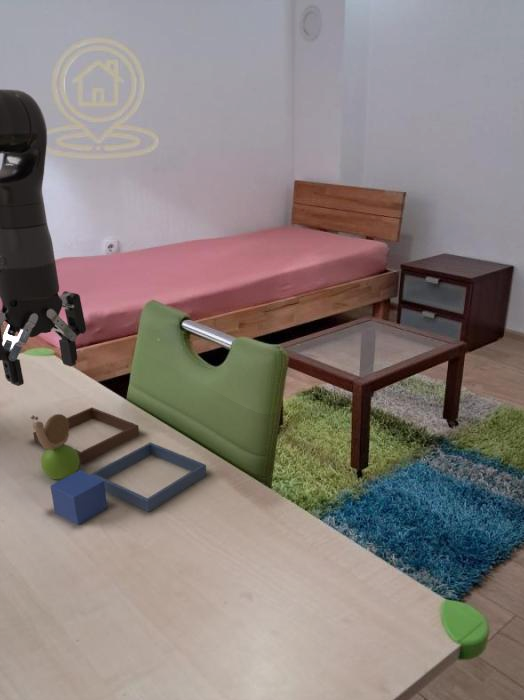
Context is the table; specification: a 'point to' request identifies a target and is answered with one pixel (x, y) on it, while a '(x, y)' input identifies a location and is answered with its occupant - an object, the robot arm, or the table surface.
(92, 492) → the blue block
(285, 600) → the table surface
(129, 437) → the brown tray
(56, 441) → the snail figurine
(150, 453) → the blue tray
